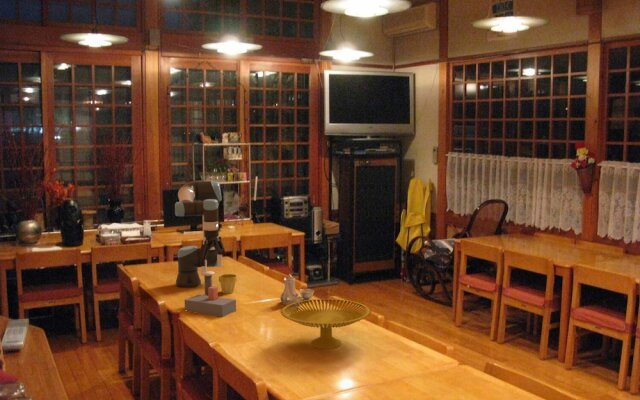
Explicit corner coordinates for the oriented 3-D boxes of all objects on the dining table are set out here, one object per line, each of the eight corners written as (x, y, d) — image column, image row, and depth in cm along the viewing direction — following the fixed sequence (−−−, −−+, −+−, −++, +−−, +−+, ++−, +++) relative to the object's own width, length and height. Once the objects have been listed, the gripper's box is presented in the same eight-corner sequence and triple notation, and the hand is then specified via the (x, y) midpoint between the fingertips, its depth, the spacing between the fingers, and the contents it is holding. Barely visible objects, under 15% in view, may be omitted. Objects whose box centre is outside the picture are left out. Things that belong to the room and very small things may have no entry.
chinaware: (301, 314, 340) (304, 283, 338) (271, 309, 344) (274, 278, 342) (315, 300, 367) (318, 271, 365) (287, 295, 371) (289, 267, 369)
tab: (208, 310, 343) (208, 287, 342) (212, 308, 346) (212, 286, 345) (214, 311, 342) (213, 288, 340) (218, 309, 345) (217, 287, 343)
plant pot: (238, 290, 385) (238, 273, 383) (234, 294, 374) (234, 277, 373) (221, 289, 386) (221, 273, 384) (217, 294, 375) (216, 277, 374)
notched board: (184, 311, 342) (184, 299, 341) (199, 305, 353) (198, 294, 352) (222, 316, 331) (222, 305, 330) (236, 310, 342) (235, 299, 341)
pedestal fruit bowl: (319, 323, 318) (319, 293, 317) (389, 340, 293) (389, 308, 291) (261, 345, 287) (260, 312, 286) (333, 366, 262) (333, 330, 260)
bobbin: (195, 304, 355) (194, 273, 353) (206, 299, 364) (206, 269, 362) (210, 306, 350) (209, 275, 348) (221, 301, 359) (220, 271, 357)
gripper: (202, 233, 326) (203, 275, 329) (231, 226, 348) (231, 265, 351) (190, 232, 330) (191, 273, 332) (219, 225, 352) (220, 263, 355)
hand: (212, 269), depth 342 cm, fingers open, 13 cm apart
